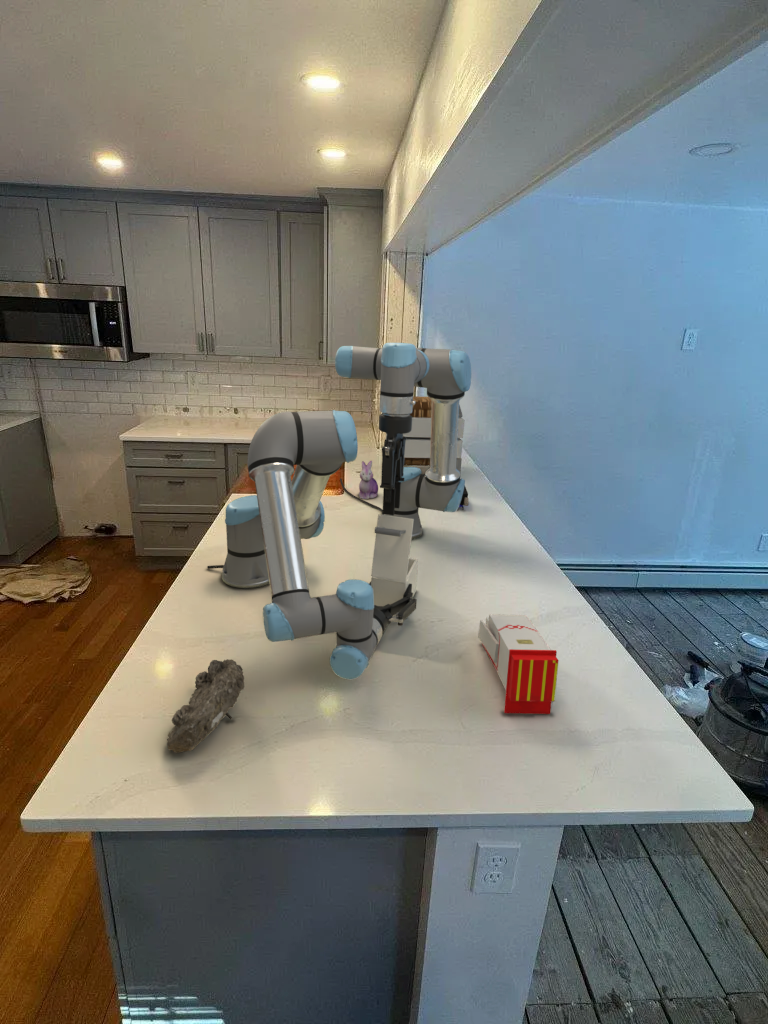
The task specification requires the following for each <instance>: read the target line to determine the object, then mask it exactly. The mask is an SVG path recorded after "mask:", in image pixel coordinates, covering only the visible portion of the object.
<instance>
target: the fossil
mask: <svg viewBox="0 0 768 1024" xmlns="http://www.w3.org/2000/svg"><path fill="white" fill-rule="evenodd" d="M243 670H244V669H243V667H242V665H240V664H237V662H236V661H235V660H234V659H232V658H231V659H227V658H226V659H224V660H223V661H222V660H217V659H212V660H211V661H210V663H209V665H208V666H207V671H201V672H199V673H198V674H197V675H196V676H195V680H194V684H195V685H194V687H195V689H194V690H193V693H192V694H191V697H190V698H189V700H188V704H184V705H182V706H181V707H180V709H177V710H176V711H175V713H174V715H173V716H172V718H171V723H172V724H173V727H172V730H171V731H170V732H168V734H167V738H166V741H167V742H166V745H167V749H168V750H169V751H173V752H174V753H176V754H178V753H182V752H188V751H189V752H192V751H193V750H195V748H196V747H197V746H199V744H200V743H201V742H203V741H204V740H205V739H206V738H207V737H208V736H209V735H210V734H211V733H212V732H214V730H215V729H217V727H218V726H219V724H220V722H221V721H222V720H223V719H224V718H225V716H226V717H227V719H229V720H233V717H232V715H230V714H229V710H230V709H231V708H234V706H235V704H236V703H237V702H238V699H239V697H240V695H241V693H242V691H243V690H245V689H244V688H245V675H244V671H243Z"/></svg>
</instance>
